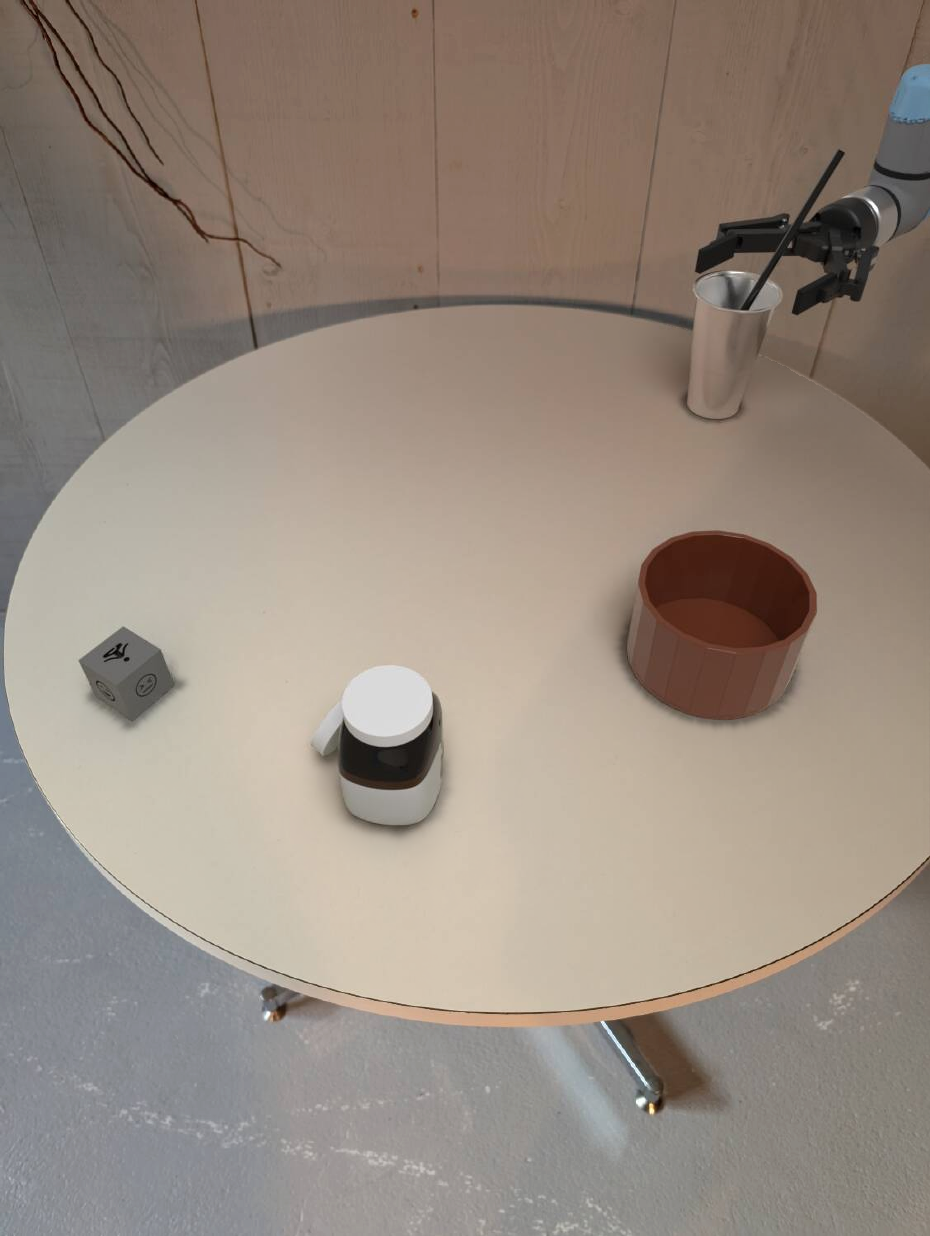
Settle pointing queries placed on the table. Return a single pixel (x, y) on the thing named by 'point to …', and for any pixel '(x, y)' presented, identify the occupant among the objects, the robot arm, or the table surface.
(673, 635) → the crock
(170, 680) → the dice cube
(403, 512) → the table surface
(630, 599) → the table surface
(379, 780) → the spread jar
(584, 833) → the table surface
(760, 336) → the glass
